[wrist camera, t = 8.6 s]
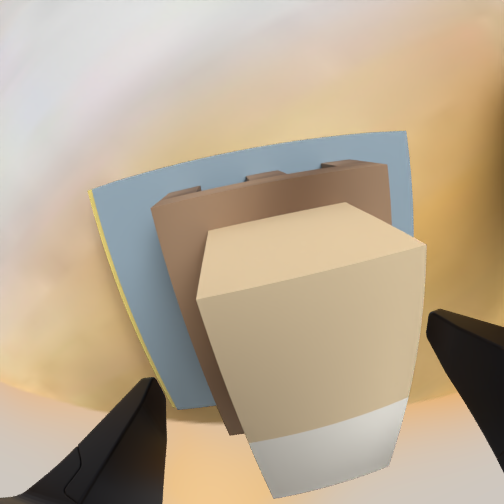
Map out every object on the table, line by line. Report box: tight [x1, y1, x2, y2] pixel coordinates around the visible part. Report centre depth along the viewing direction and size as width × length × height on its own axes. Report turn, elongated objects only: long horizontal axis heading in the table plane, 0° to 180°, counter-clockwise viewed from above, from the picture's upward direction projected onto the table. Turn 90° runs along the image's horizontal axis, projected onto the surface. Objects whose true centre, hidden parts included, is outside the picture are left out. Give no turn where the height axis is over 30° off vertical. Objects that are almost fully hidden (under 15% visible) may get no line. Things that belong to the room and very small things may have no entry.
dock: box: [88, 131, 413, 410], centre depth 14 cm, size 13×12×3 cm
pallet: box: [150, 159, 392, 435], centre depth 11 cm, size 7×10×3 cm
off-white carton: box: [249, 398, 408, 499], centre depth 9 cm, size 4×4×4 cm
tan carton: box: [196, 202, 427, 443], centre depth 7 cm, size 4×4×4 cm
